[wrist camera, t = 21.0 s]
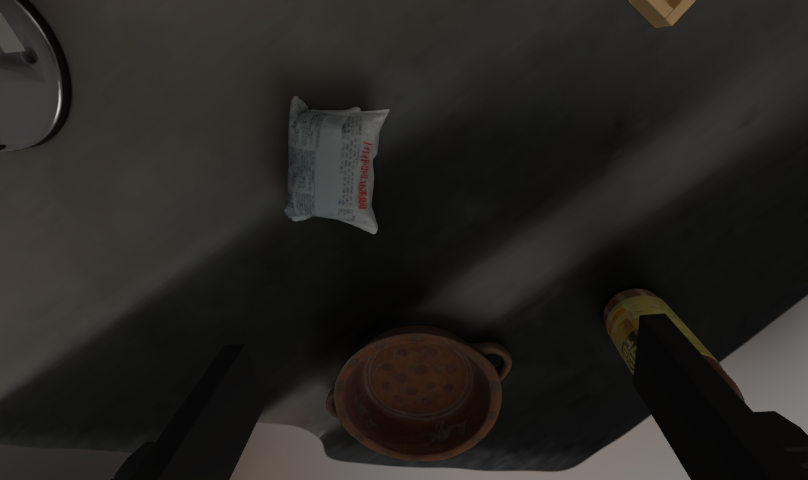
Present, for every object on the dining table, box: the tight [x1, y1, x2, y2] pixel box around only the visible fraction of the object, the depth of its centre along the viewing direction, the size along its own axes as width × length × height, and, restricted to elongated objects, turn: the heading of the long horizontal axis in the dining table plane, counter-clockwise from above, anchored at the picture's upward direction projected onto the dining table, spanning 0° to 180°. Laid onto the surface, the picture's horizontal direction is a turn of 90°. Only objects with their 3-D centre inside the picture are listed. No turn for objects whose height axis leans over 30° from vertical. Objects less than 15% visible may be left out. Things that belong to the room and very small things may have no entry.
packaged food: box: [284, 96, 390, 234], centre depth 39 cm, size 9×12×5 cm
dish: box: [326, 325, 512, 461], centre depth 48 cm, size 18×22×5 cm
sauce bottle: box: [603, 288, 745, 402], centre depth 36 cm, size 6×6×20 cm
